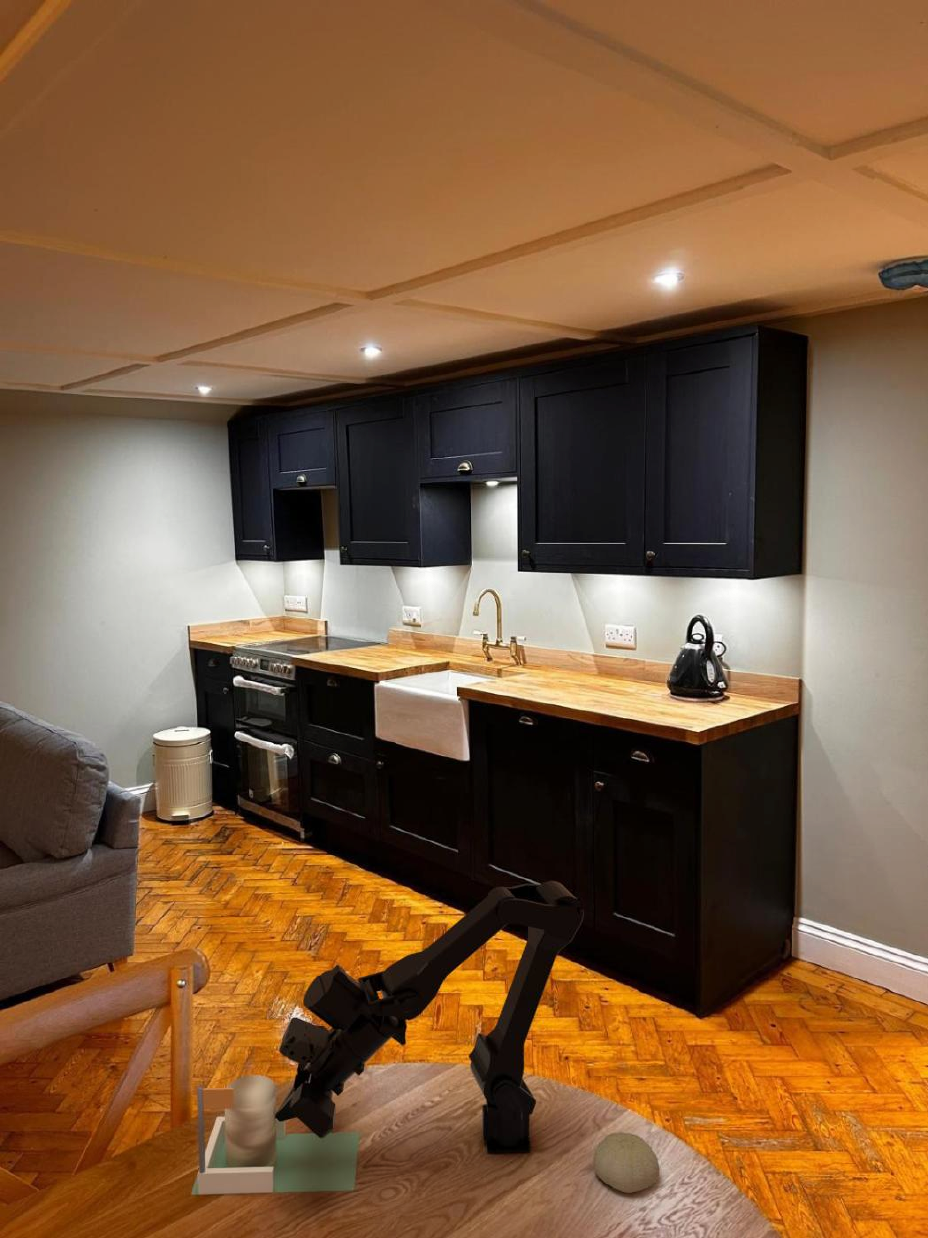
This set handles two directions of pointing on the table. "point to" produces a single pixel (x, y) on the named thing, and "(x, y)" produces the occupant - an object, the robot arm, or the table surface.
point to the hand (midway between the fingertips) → (277, 1118)
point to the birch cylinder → (251, 1123)
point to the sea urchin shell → (626, 1162)
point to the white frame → (213, 1177)
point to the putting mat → (310, 1163)
